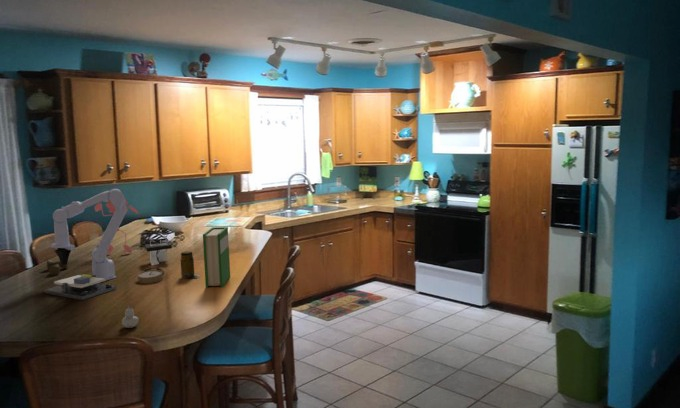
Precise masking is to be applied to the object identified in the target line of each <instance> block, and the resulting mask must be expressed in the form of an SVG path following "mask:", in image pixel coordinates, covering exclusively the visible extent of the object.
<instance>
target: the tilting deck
mask: <svg viewBox="0 0 680 408" xmlns="http://www.w3.org/2000/svg"><path fill="white" fill-rule="evenodd" d="M91 275H92V274H84V273H83V274H77V275H73V276H70V277H65V278H61V279H59V280H55V281H53V284H54V285H57V286H59V285H63V283H68V286H71V287H78V288H83V287H86V286H90V285H93V284H97V283H100V284H101V283H102V282H103V283H104V282H106V281H105V279H104V278H96V277H92V276H91Z"/></svg>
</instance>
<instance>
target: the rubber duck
mask: <svg viewBox="0 0 680 408" xmlns="http://www.w3.org/2000/svg"><path fill="white" fill-rule="evenodd" d="M138 323H139V317H138V316H136V315H135V311H134V309H133V308H132V307H130V306H129V305H128V306H127V307H126V308H125V310H124V317H123V318H122V320H121V324H122V326H123V327H124V328H127V329H131V328H134V327H136V326H137V325H138Z"/></svg>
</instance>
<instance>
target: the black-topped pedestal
mask: <svg viewBox="0 0 680 408" xmlns="http://www.w3.org/2000/svg"><path fill="white" fill-rule="evenodd" d="M162 241H163V240H162V239H155V240H153V242H152V240H150V241H149V243H146V244H144V246H145V250H146V252H149V262H150V263H149V264H151V265H150V266H156V265H160V262H161V263H162V262H168V251H167V250H169V249H173V246H172V245H173V244H172V242H171V241H170V242H169V241H168V238H167V237H165V242H162Z"/></svg>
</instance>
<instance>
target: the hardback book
mask: <svg viewBox="0 0 680 408" xmlns="http://www.w3.org/2000/svg"><path fill="white" fill-rule="evenodd" d="M202 240H203V241H202V243H203V245H202V246H203V261H204V262H203V264H204V277H205V279H204V280H205V288H207V289H208V288H209V287H211V286H212V287H215V286H216V287H217V286H220V288H224V286H225V284H226V283H227V282H228V281H229V280H230V278H231V266H230V265H231V263H230V246H229V245H230V242H229V241H230V240H229V227H228V226H223V227H222V226H221V227H220V226H219V227H217V226H216V227H211V228H209V229H208V230H207V231H205V232H204V233H202Z"/></svg>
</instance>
